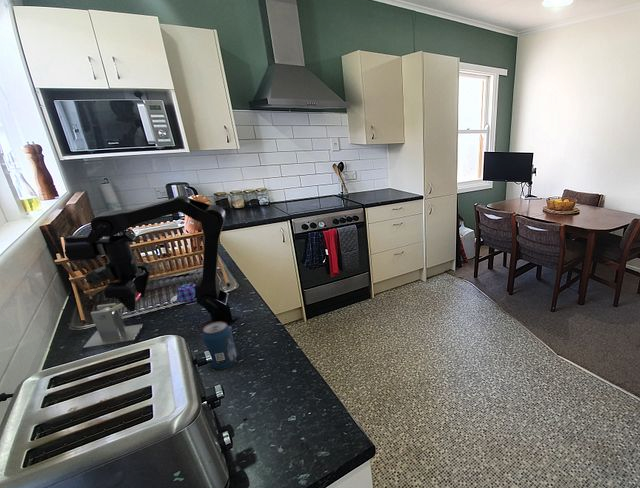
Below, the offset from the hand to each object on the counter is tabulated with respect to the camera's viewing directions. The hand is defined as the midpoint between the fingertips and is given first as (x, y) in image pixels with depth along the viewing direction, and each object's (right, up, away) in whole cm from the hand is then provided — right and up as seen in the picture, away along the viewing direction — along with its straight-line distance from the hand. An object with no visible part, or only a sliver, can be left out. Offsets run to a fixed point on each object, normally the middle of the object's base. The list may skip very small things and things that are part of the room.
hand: (137, 303), depth 105 cm
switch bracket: (-8, -11, +2) cm, 14 cm away
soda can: (+30, -16, -7) cm, 35 cm away
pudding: (-1, -1, +25) cm, 25 cm away
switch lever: (-4, -1, -1) cm, 4 cm away
